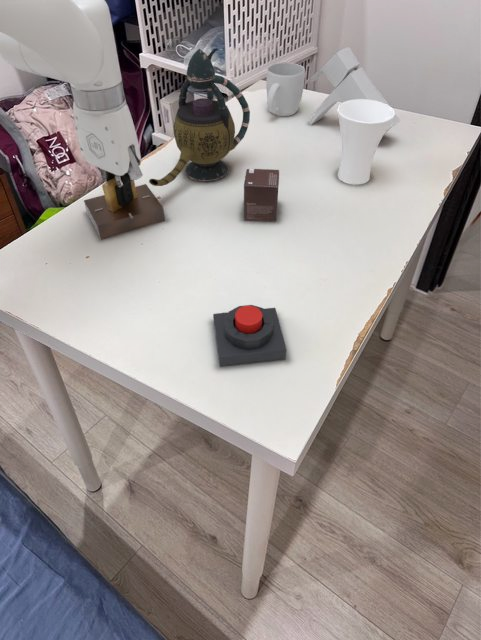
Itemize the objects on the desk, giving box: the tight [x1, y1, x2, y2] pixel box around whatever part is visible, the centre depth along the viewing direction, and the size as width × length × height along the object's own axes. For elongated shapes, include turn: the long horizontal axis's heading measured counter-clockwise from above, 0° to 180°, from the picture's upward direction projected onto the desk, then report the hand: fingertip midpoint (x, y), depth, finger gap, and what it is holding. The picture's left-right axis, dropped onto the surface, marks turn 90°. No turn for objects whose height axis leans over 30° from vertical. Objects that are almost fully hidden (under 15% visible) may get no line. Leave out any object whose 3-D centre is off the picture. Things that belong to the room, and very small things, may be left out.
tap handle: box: [101, 175, 137, 212], centre depth 82 cm, size 6×1×5 cm, turn 144°
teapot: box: [148, 48, 251, 187], centre depth 87 cm, size 12×25×23 cm, turn 146°
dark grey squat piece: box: [212, 304, 287, 368], centre depth 64 cm, size 9×8×4 cm
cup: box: [337, 99, 396, 186], centre depth 91 cm, size 10×10×14 cm
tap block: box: [83, 183, 166, 241], centre depth 85 cm, size 12×10×3 cm
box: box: [243, 168, 280, 223], centre depth 84 cm, size 6×6×7 cm
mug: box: [265, 61, 306, 117], centre depth 113 cm, size 13×9×10 cm
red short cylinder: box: [235, 305, 262, 334], centre depth 62 cm, size 4×4×2 cm
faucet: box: [309, 46, 401, 133], centre depth 107 cm, size 6×16×20 cm
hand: (122, 200), depth 83 cm, fingers closed
